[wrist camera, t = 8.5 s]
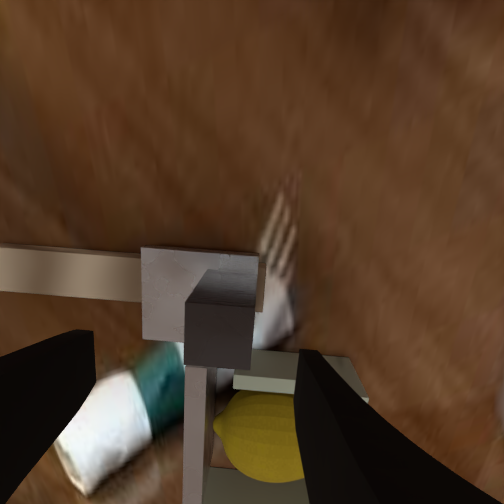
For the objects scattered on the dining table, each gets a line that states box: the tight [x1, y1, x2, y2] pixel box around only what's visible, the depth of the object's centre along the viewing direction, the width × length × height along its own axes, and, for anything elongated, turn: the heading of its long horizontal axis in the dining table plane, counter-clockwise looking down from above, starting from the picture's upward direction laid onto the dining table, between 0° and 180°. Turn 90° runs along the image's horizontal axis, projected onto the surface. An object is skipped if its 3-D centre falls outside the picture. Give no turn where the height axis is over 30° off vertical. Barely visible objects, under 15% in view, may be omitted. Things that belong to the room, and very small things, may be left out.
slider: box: [141, 245, 259, 504], centre depth 17 cm, size 7×16×7 cm, turn 176°
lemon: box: [213, 389, 304, 483], centre depth 19 cm, size 6×6×8 cm
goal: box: [203, 349, 369, 504], centre depth 20 cm, size 10×12×4 cm
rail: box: [0, 243, 266, 312], centre depth 19 cm, size 18×3×1 cm, turn 86°
